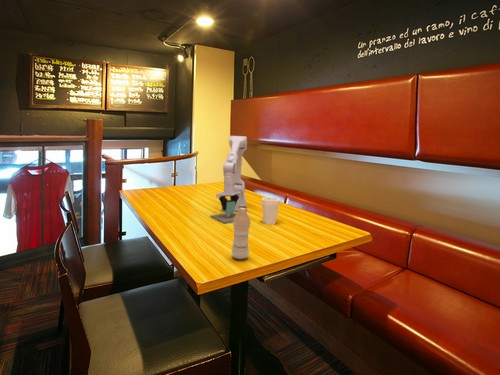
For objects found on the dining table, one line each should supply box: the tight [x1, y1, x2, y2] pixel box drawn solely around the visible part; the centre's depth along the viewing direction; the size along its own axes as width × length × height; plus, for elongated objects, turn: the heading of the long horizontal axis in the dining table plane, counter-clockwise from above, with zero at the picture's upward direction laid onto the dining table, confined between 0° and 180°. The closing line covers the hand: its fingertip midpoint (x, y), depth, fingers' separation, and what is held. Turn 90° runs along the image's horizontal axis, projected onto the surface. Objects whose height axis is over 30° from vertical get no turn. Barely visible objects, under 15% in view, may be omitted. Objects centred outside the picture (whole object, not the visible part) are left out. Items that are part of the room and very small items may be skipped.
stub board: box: [209, 212, 237, 225], centre depth 173 cm, size 14×14×4 cm
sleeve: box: [221, 199, 236, 214], centre depth 172 cm, size 5×5×6 cm
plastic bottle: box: [231, 205, 252, 260], centre depth 119 cm, size 6×7×20 cm
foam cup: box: [261, 196, 281, 226], centre depth 167 cm, size 10×9×13 cm
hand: (228, 209), depth 172 cm, fingers closed on sleeve, 5 cm apart
